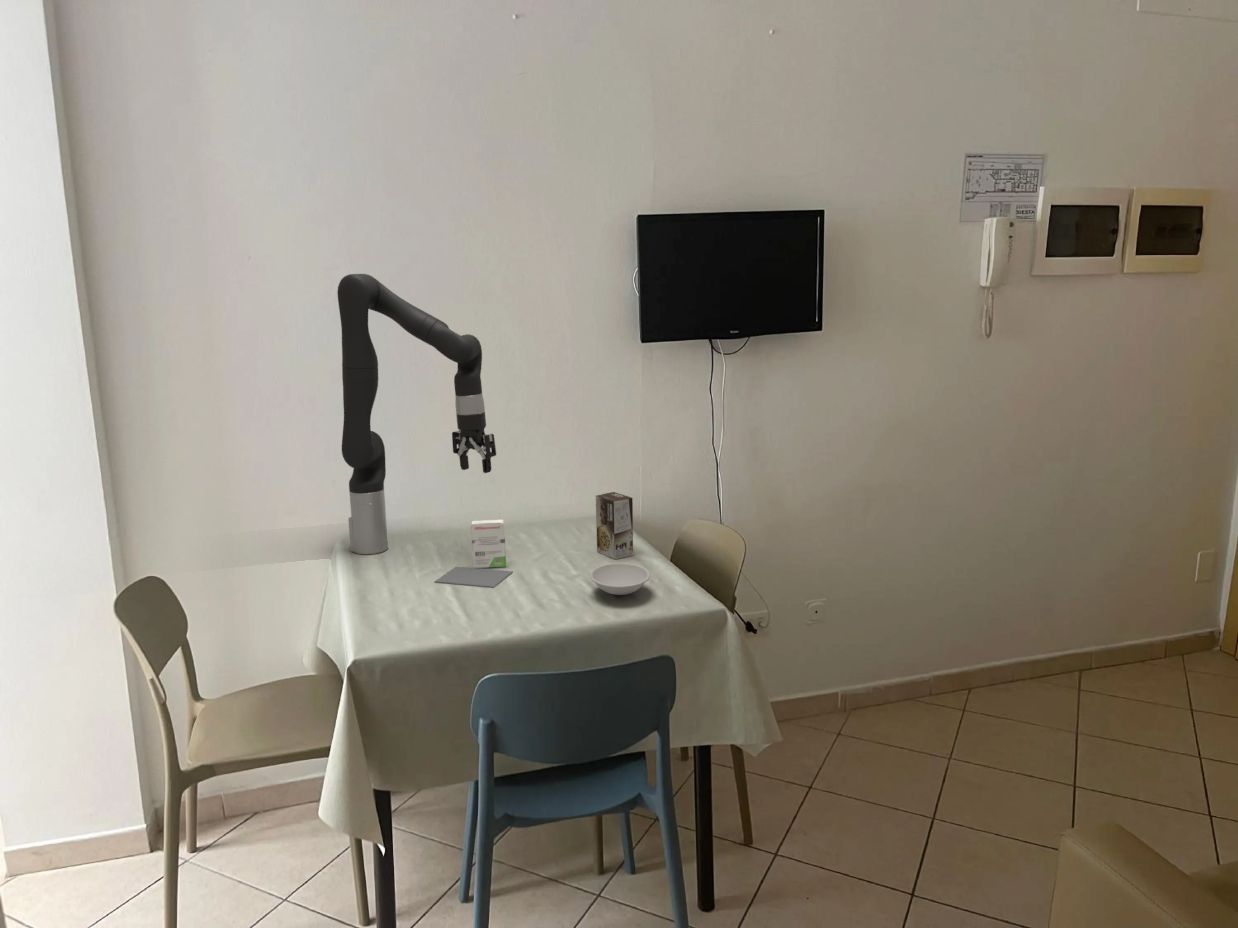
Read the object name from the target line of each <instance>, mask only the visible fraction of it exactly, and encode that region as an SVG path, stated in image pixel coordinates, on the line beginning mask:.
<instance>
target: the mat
mask: <svg viewBox="0 0 1238 928" xmlns="http://www.w3.org/2000/svg"><path fill="white" fill-rule="evenodd" d="M512 574H513V570H500V569H491V568H490V569H489V568H473V567H464V566H455V567H453V568H451V569H450V570H449V571H447V572H446V573H444V574H443V575H442V576H440V577H438V578H437V579H436V580H434V583H435V584H445V585H446V584H447V585H457V586H458V585H460V586H468V587H479V588H491V589H495V588H496V587H497V586H498V585H499V584H500V583H502V582H503V581H504V580H506V579H507V578H508V577H509V576H511V575H512Z"/></svg>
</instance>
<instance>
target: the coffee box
mask: <svg viewBox="0 0 1238 928" xmlns="http://www.w3.org/2000/svg"><path fill="white" fill-rule="evenodd" d="M633 500H634V497H631V496H628V495H625V494H621V493H618V492H615V491H611V492H605V493H602V494H598V495H595V511H596V512H595V514H596V515H595V518H596V519H595V522H596V523H595V524H596V550H597V551H596V552H597V553H599V554H602V555H604V556H606V557H608V558H611V559H612V560H613V559H614V560H617V559H622V558H623V559H624V558H628V557H632V556H634V522H633V521H634V516H633V513H634V511H633V505H634V504H633Z"/></svg>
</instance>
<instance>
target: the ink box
mask: <svg viewBox="0 0 1238 928" xmlns="http://www.w3.org/2000/svg"><path fill="white" fill-rule="evenodd" d="M470 529H471V531H470V532H471V534H470V535H471V553H472V568H479V569H485V568H496V567H497V568H498V567H506V566H507V557H506V556H507V555H506V554H507V552H506V535H505V534H506V533H505V531H506V530H505V520H504V519H488V520H487V519H485V520H472V521H471V522H470Z"/></svg>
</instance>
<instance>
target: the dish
mask: <svg viewBox="0 0 1238 928" xmlns="http://www.w3.org/2000/svg"><path fill="white" fill-rule="evenodd" d="M650 577H651V573H650V571H649V570H648V569H647V568H646V567H645V566H642V565H639V564H635V563H631V562H611V563H610V562H609V563H604V564H601V565H598V566H596V567H594V568H592V569H591V571H589V579H590V581H592V582H593V583H594V584H595V585H596V586H597V587H598V588H600V590H602V591H603V592H606V593H607V594H610V595H616V596H623V595H630V594H632V593H634V592H636V591H638V590H639V589H641V588H642V587H643V585H644V584H645V583H646V582H648V581H649V580H650Z"/></svg>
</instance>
